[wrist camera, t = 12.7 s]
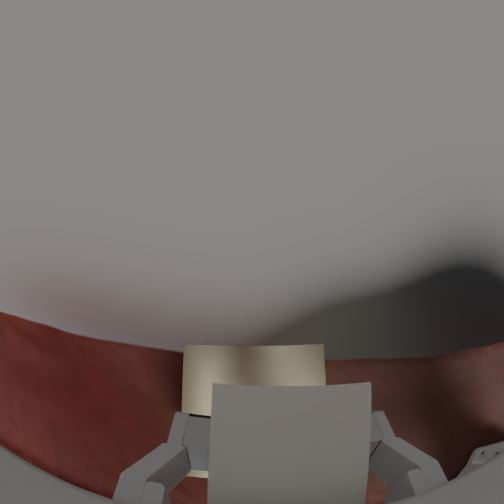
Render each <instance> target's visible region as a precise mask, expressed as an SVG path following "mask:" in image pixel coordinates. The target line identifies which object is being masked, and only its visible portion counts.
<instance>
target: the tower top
mask: <svg viewBox="0 0 504 504" xmlns="http://www.w3.org/2000/svg"><path fill="white" fill-rule="evenodd" d="M213 383H218V384H232V385H250V386H323V385H326V380H325V360H324V345H323V344H312V345H289V346H288V345H284V346H226V345H224V346H223V345H198V344H184V357H183V383H182V412H184V413H191V414H198V415H206V416H211V404H212V388H213ZM186 476H192V477H203V478H208V471H200V470H191V471H190V472H189V473H188V474H187V475H186Z"/></svg>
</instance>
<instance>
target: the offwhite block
mask: <svg viewBox="0 0 504 504" xmlns="http://www.w3.org/2000/svg"><path fill="white" fill-rule="evenodd" d="M370 436H371V382H366V383H355V384H341V385H323V386H250V385H232V384H218V383H213V388H212V404H211V422H210V442H209V466H208V498H207V504H363V503H365V496H366V488H367V478H368V467H369V454H370Z"/></svg>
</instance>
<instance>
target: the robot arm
mask: <svg viewBox="0 0 504 504" xmlns="http://www.w3.org/2000/svg"><path fill="white" fill-rule="evenodd" d="M210 422H211V416H206V415H198V414H191V413H184V412H176V413H175V415H174V419H173V423H172V426H171V430H170V434H169V438H168V442H167V443H162V444H161V445H160V446H158V447H157V448H156V449H154V450H153V451H152V452H150V453H149V454H148V455H146V456H145V457H143V458H142V459H141V460H139V461H138V462H136V463H135V464H134V465H132V466H131V467H129V468H128V469H126V470H125V471H123V472H122V473H121V475H120V478H119V481H118V484H117V487H116V490H115V493H114V496H113V499H109V498H106V497H103V496H100V495H97V494H95V493H92V492H89V491H87V490H84V489H82V488H79V487H77V486H74V485H72V484H70V483H67V482H65V481H63V480H61V479H59V478H57V477H54V476H52V475H50V474H48V473H46V472H44V471H42V470H41V469H39V468H37V467H35V466H33V465H31V464H29V463H28V462H26V461H24V460H23V459H21V458H19V457H17V456H16V455H14V454H13V453H11V452H10V451H8V450H7V449H5V448H3V447H1V446H0V504H172V502H171V500H170V498H169V495H168V493H169V492H170V491H171V490H172V489H173V488H174V487H175V486H176V485H177V484H178V483H179V482H180V481H181V480H182V479H183V478H184V477H185V476H186V475H187V474H188V473H189V472H190V471H191V470H200V471H208V466H209V442H210ZM368 469H369V470H370V471H371V472H372V473H374V474H375V475H376V476H377V477H378V478H379V479H380V480H381V481H383V482H384V483H385V484H386V485H387V486H388V487H389V488H391V489H392V490H391V491H390V492H389V493H388V494H387V495H386V496H385V497H384V498H383V501H384V504H504V441H501V442H498V443H494V444H491V445H487V446H483V447H478V448H476V449H475V450H474V451H473V453H472V455H471V456H470V458H469V461H468V463H467V465H466V466H465V467H464V469H463V470H462V471H461V472H460V473H459V475H458V476H457V477H456V478H454V479H452V480H450V481H448V480H447V478H446V476H445V474H444V472H443V470H442V468H441V466H440V464H439V462H438V461H437V460H436V459H434V458H432V457H431V456H429V455H427V454H426V453H424V452H422V451H421V450H419V449H417V448H416V447H414V446H412V445H411V444H409V443H408V442H406V441H404V440H403V439H401V438H400V437H395V435H394V432H393V430H392V428H391V426H390V424H389V422H388V420H387V418H386V416H385V414H384V412H383V411H382V410H381V411H374V412H371V436H370V454H369V467H368Z"/></svg>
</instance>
